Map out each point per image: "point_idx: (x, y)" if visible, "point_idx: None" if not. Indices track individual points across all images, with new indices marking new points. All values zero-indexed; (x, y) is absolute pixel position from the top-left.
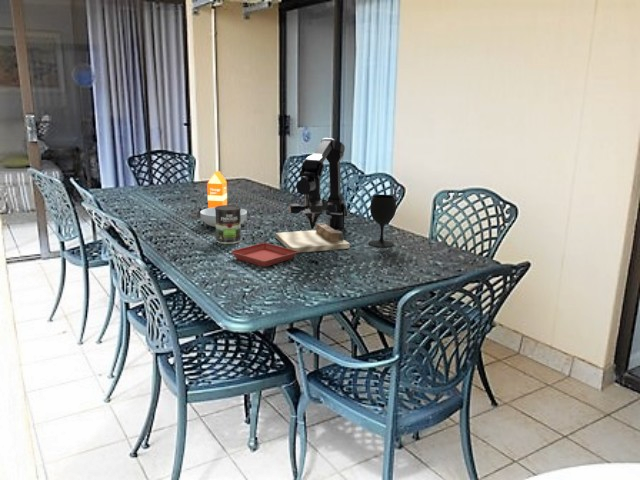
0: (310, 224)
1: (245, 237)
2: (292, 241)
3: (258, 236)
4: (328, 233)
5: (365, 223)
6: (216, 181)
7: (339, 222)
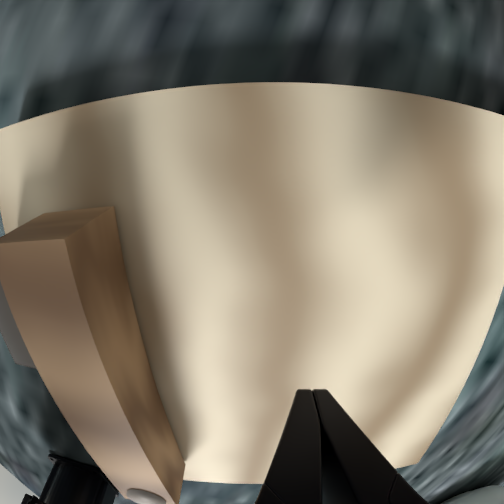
0: (364, 437)
1: (495, 433)
2: (457, 308)
3: (455, 449)
4: (98, 309)
5: (5, 457)
6: None
7: (61, 485)
